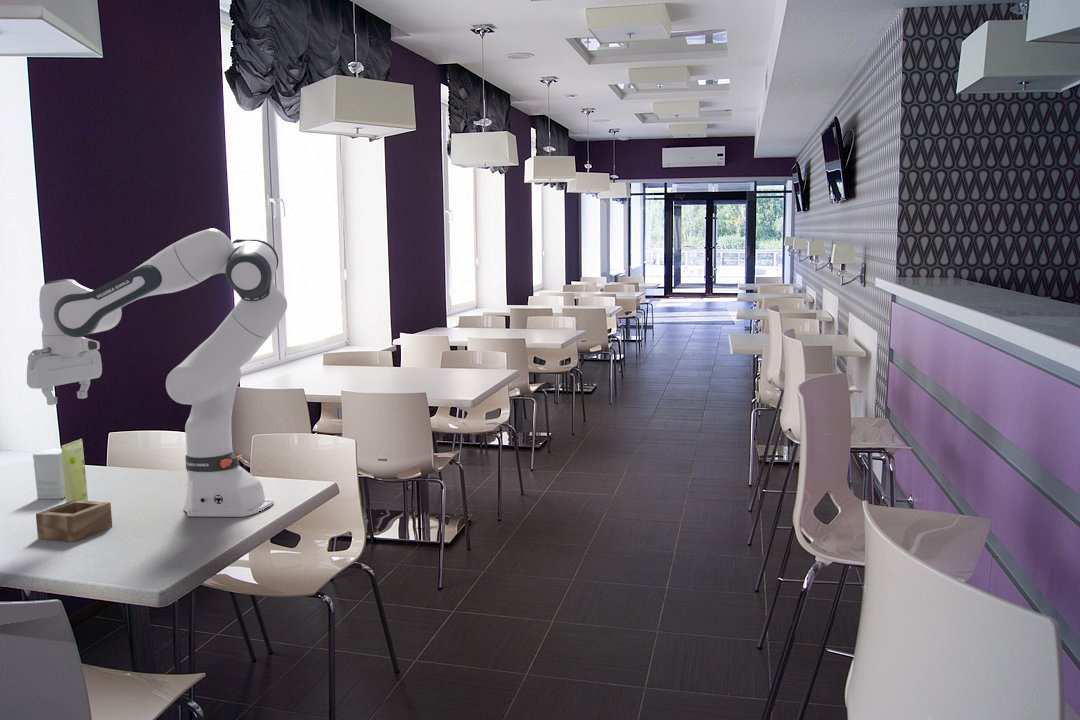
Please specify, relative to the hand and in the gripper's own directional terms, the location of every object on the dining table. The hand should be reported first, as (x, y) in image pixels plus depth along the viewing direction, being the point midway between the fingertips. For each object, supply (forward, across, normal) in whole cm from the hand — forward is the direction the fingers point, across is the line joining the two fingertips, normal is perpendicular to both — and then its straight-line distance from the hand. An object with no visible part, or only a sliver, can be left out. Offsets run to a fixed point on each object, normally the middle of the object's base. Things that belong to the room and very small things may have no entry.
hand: (67, 401), depth 215 cm
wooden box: (+30, -10, -9) cm, 33 cm away
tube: (+30, 0, 0) cm, 30 cm away
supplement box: (+30, +16, +22) cm, 40 cm away
